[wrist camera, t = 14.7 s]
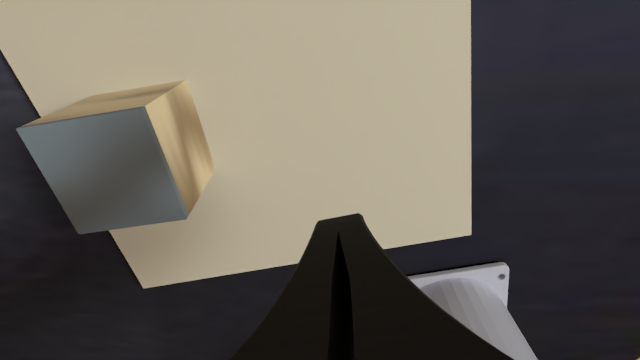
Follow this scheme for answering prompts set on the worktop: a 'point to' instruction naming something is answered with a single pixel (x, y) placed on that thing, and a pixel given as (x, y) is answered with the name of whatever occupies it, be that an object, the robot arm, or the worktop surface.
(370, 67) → the mat
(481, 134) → the worktop surface
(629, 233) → the worktop surface
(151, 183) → the cube
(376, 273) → the robot arm
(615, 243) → the worktop surface
